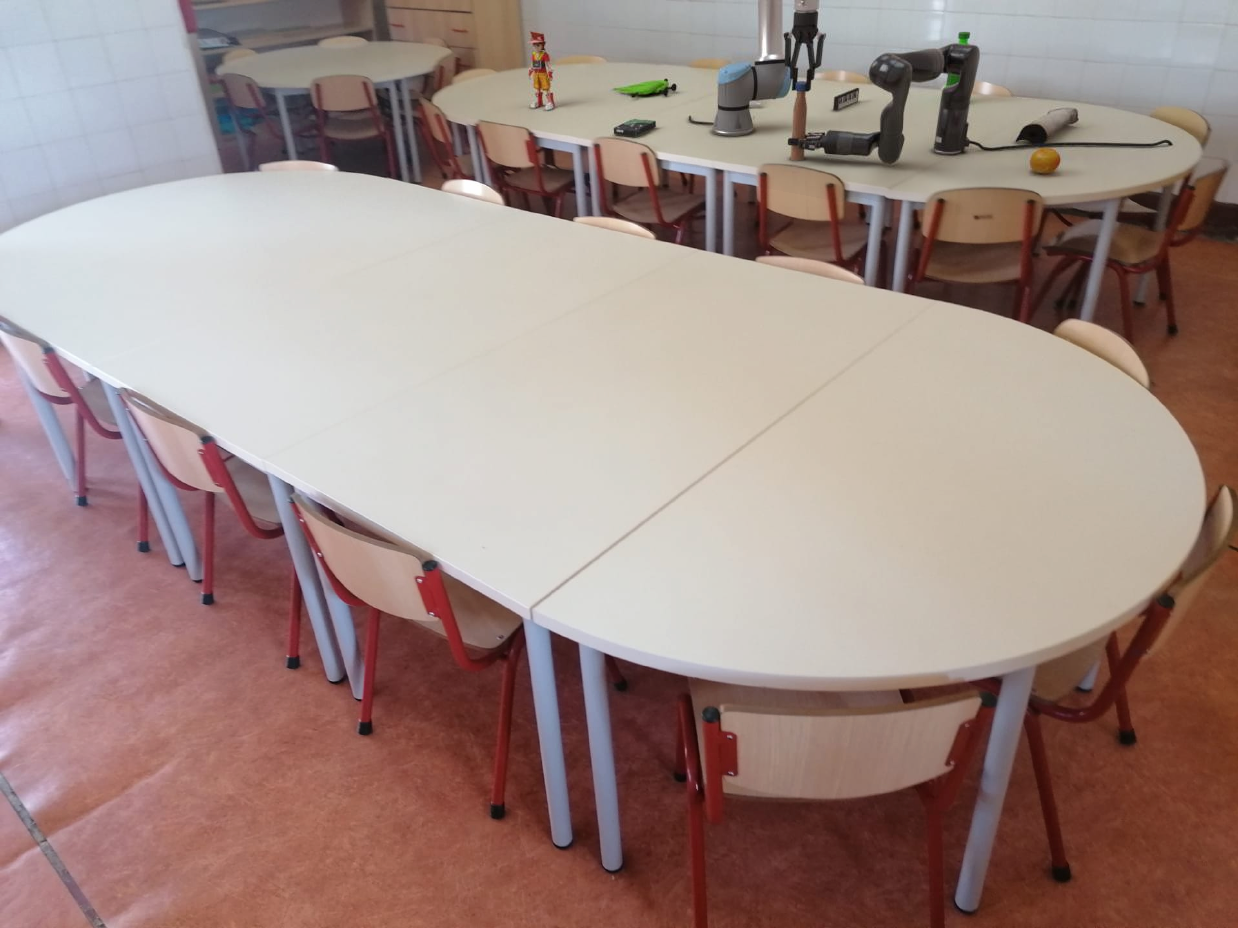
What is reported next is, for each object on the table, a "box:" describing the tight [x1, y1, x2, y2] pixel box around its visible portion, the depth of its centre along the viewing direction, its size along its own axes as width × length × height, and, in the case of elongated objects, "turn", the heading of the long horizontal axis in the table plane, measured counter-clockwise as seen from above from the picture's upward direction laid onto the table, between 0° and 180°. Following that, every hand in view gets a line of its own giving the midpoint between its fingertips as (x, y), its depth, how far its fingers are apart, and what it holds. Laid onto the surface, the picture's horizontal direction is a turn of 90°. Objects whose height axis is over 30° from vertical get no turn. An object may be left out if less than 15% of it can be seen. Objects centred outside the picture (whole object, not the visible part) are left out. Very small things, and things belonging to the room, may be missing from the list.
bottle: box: [790, 91, 808, 162], centre depth 298 cm, size 4×4×23 cm
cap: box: [794, 80, 806, 92], centre depth 291 cm, size 4×4×2 cm
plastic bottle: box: [943, 31, 971, 88], centre depth 348 cm, size 10×10×25 cm
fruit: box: [1029, 147, 1062, 174], centre depth 277 cm, size 8×8×8 cm
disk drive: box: [613, 118, 657, 138], centre depth 342 cm, size 10×3×15 cm
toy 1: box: [527, 31, 556, 111], centre depth 374 cm, size 12×9×30 cm
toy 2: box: [612, 78, 677, 99], centre depth 396 cm, size 28×5×30 cm
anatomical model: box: [749, 100, 763, 109], centre depth 366 cm, size 15×10×10 cm
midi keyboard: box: [832, 87, 860, 111], centre depth 357 cm, size 18×1×5 cm, turn 138°
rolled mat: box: [1014, 107, 1080, 144], centre depth 311 cm, size 30×9×10 cm
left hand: (801, 90), depth 292 cm, fingers closed on cap, 4 cm apart
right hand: (790, 139), depth 302 cm, fingers closed on bottle, 4 cm apart
